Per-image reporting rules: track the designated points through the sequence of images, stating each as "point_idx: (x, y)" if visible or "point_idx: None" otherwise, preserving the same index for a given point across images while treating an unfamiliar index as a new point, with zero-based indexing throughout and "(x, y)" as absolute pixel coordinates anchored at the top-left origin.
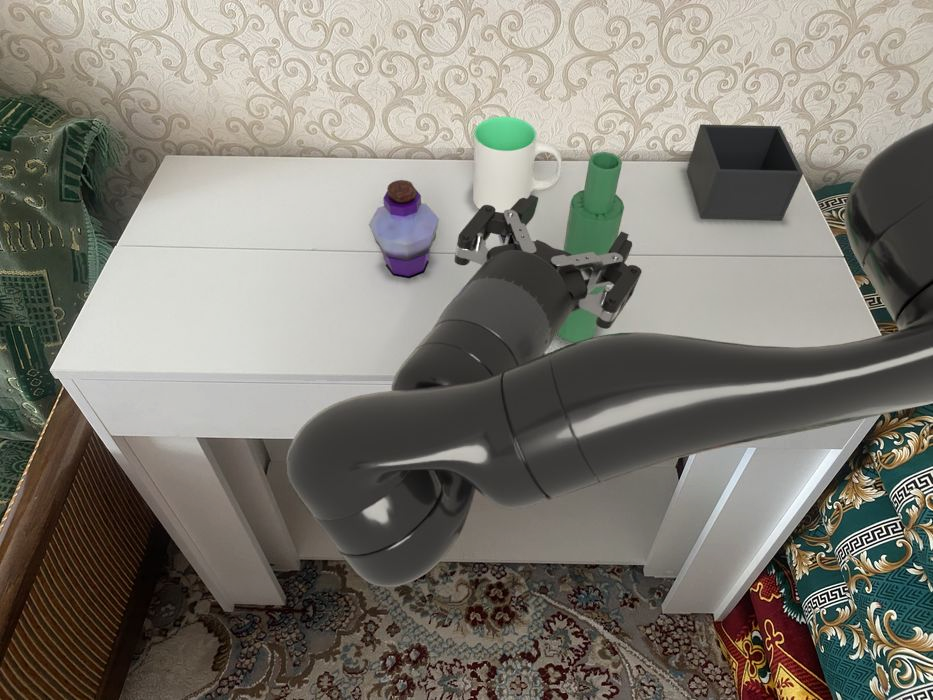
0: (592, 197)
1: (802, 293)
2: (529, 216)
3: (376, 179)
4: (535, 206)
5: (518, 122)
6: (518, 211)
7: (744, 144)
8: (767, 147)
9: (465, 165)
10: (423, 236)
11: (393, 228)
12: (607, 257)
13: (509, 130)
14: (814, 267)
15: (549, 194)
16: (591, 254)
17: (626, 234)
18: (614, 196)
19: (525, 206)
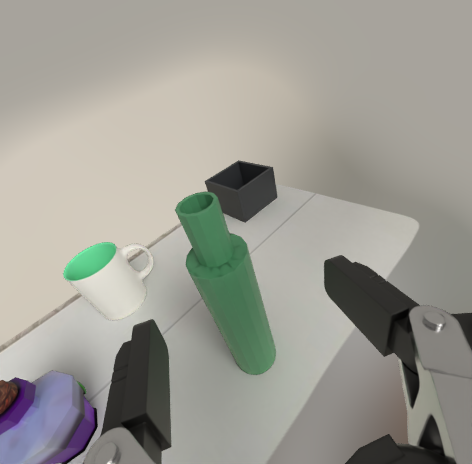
0: (211, 250)
1: (329, 217)
2: (162, 367)
3: (11, 367)
4: (159, 335)
5: (97, 246)
6: (129, 413)
7: (230, 178)
8: (240, 173)
9: (85, 298)
10: (62, 415)
11: (17, 442)
12: (434, 341)
13: (95, 256)
14: (316, 203)
15: (155, 272)
16: (450, 390)
17: (341, 258)
18: (228, 233)
19: (138, 373)
